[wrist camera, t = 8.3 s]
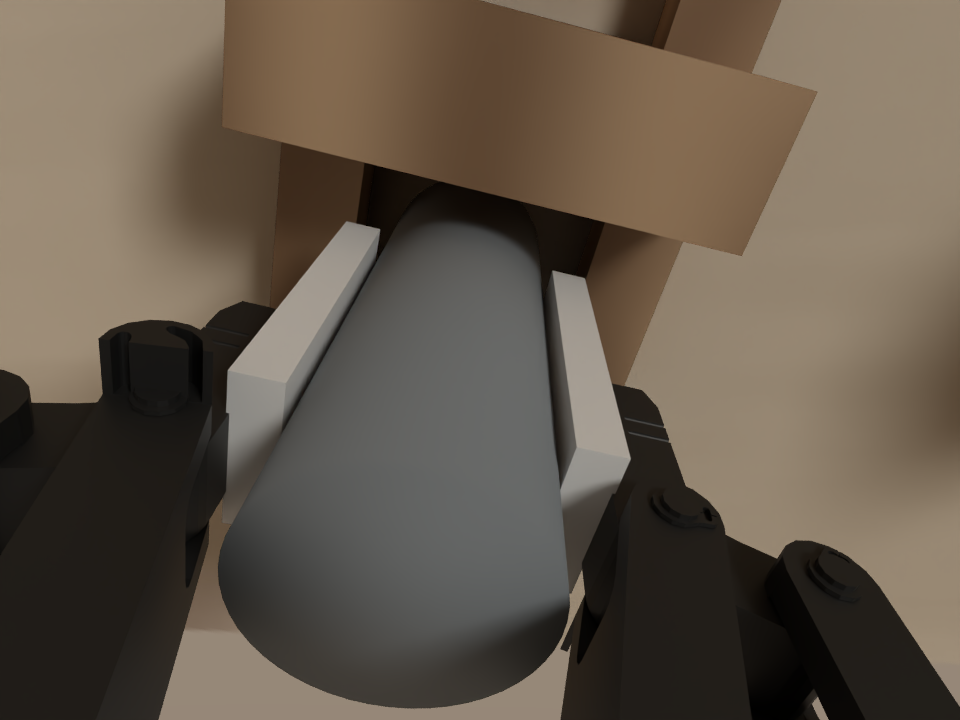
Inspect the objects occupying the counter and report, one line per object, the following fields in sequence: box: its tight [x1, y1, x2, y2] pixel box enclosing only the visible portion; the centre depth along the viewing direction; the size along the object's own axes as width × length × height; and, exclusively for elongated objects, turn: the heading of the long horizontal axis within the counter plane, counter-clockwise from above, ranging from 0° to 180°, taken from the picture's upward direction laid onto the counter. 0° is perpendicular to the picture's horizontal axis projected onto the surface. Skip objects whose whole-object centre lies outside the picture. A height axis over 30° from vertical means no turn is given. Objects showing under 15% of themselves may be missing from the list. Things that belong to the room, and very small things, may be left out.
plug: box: [218, 182, 570, 708], centre depth 12 cm, size 4×4×12 cm
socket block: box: [222, 0, 817, 386], centre depth 13 cm, size 10×18×5 cm, turn 167°
